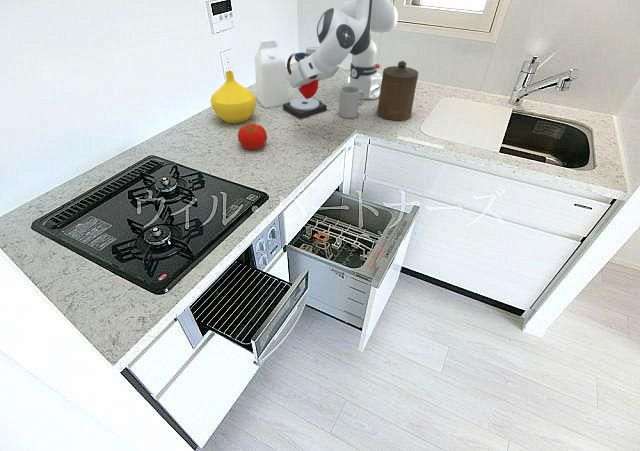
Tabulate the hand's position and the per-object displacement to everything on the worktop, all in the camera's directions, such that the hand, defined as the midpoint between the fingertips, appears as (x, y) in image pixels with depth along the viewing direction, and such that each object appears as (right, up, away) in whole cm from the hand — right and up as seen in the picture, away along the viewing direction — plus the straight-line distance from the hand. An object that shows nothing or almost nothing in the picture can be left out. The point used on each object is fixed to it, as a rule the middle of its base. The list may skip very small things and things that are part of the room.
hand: (305, 84), depth 130 cm
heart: (0, -4, +3) cm, 6 cm away
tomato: (-20, -24, -2) cm, 31 cm away
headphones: (-4, +21, +49) cm, 53 cm away
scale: (-1, -2, +23) cm, 24 cm away
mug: (+20, -4, +21) cm, 29 cm away
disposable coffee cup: (+3, +28, +57) cm, 63 cm away
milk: (-17, +5, +30) cm, 35 cm away
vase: (-31, -8, +16) cm, 35 cm away
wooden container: (+39, -4, +22) cm, 45 cm away
